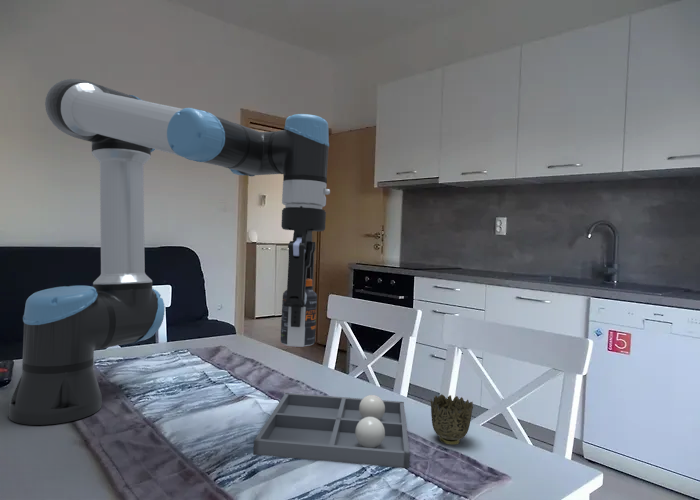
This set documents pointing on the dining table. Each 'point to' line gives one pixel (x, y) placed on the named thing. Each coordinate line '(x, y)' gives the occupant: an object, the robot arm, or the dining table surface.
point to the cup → (451, 418)
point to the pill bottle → (309, 315)
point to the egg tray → (331, 431)
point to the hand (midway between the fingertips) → (298, 341)
